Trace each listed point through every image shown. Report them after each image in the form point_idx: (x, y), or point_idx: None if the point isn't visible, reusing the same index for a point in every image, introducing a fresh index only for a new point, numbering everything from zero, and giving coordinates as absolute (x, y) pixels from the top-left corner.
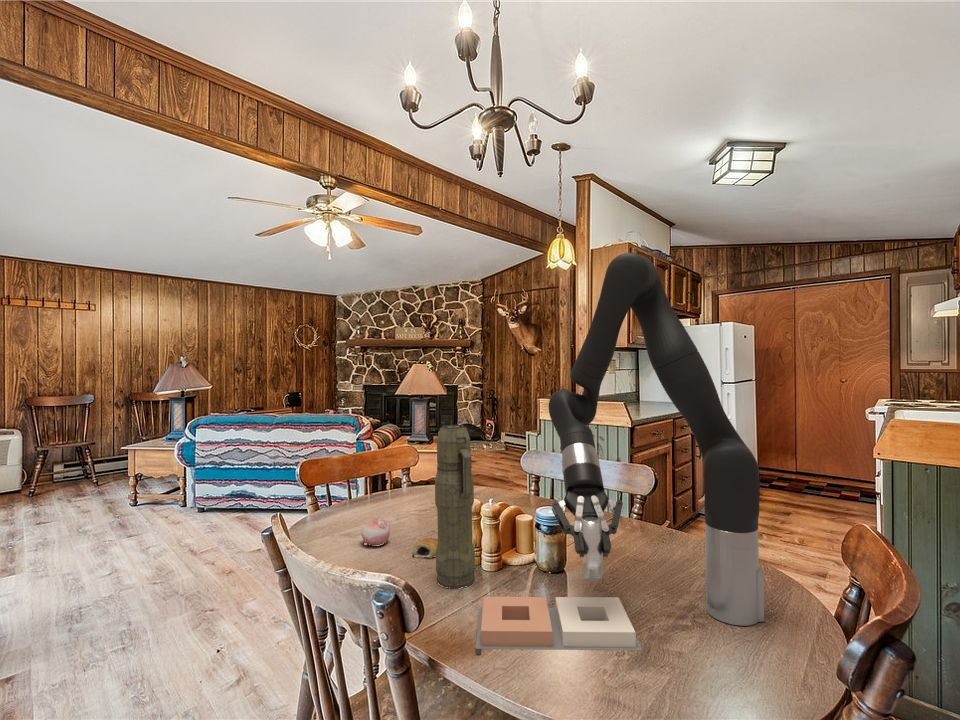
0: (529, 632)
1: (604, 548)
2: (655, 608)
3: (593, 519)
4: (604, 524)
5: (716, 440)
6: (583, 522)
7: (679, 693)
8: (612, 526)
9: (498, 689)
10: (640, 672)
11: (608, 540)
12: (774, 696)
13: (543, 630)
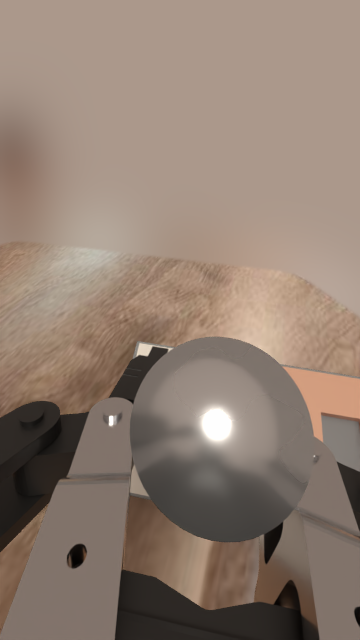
0: (319, 373)
1: (165, 351)
2: None
3: (194, 441)
4: (102, 438)
5: None
6: (297, 390)
7: (134, 276)
8: (58, 413)
9: (341, 308)
10: (159, 313)
11: (128, 379)
12: (40, 261)
13: (295, 371)
